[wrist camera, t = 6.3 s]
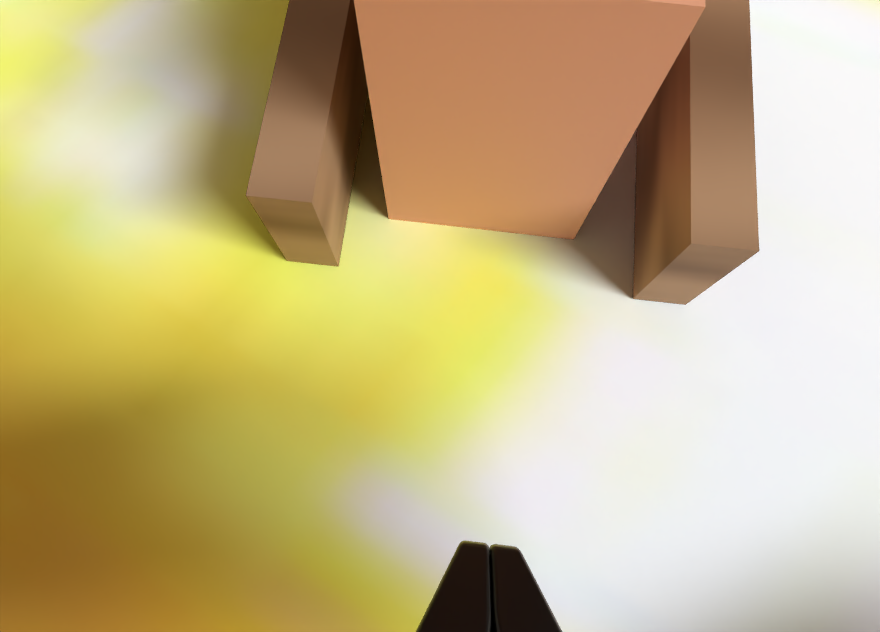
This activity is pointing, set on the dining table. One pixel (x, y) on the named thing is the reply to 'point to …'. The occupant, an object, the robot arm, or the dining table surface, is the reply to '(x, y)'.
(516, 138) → the block
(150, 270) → the dining table surface
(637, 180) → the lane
